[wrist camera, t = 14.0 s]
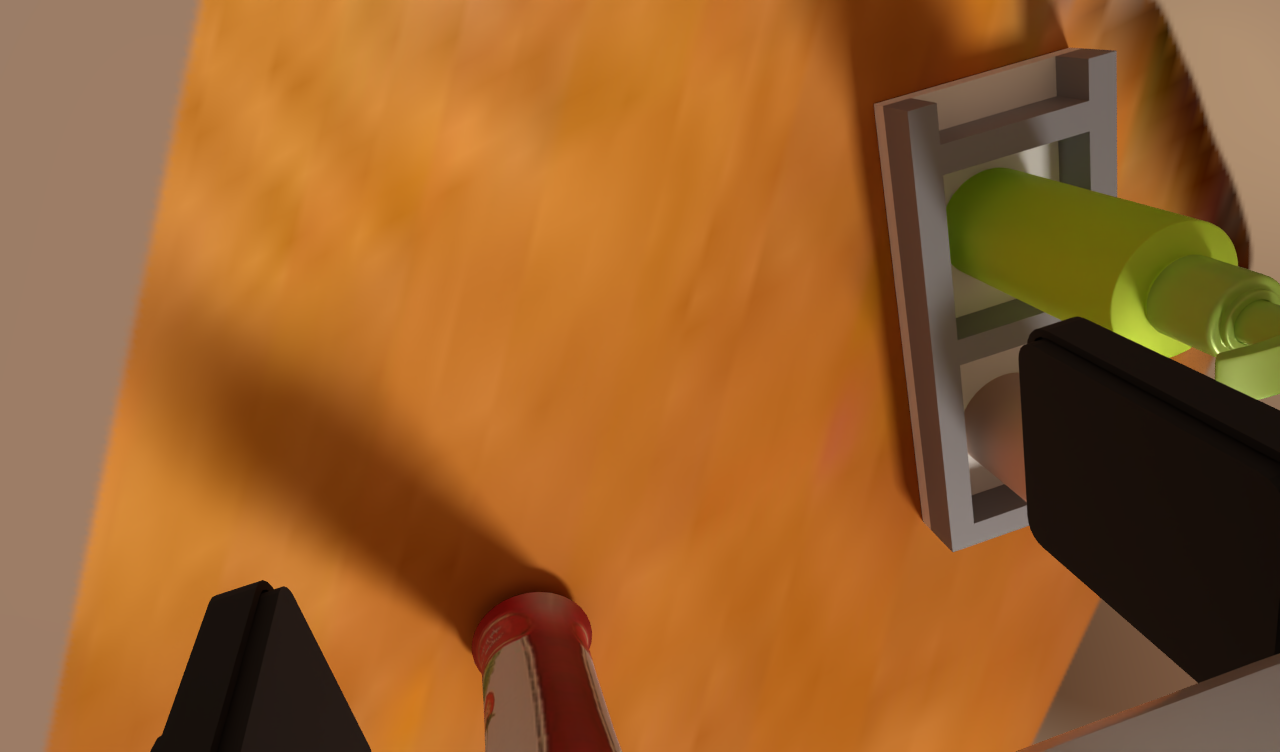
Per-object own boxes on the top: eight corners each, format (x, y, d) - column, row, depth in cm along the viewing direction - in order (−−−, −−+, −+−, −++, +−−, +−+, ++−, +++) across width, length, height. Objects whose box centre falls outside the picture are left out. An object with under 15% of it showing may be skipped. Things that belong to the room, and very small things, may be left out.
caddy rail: (873, 104, 45) (1015, 135, 34) (1069, 47, 46) (1265, 60, 36) (922, 521, 56) (1042, 644, 45) (1080, 467, 57) (1233, 574, 47)
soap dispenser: (915, 193, 46) (1228, 311, 28) (1034, 152, 47) (1415, 241, 29) (929, 296, 49) (1227, 464, 31) (1043, 255, 50) (1399, 397, 32)
